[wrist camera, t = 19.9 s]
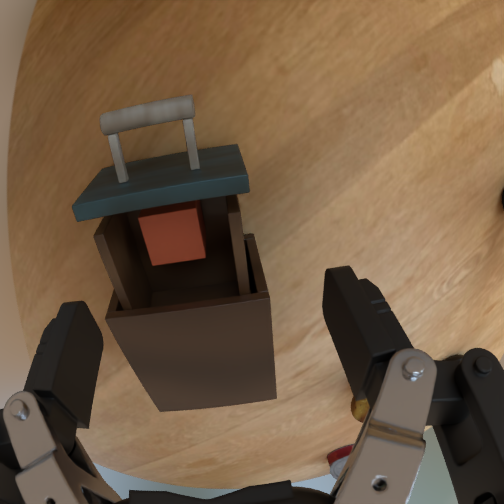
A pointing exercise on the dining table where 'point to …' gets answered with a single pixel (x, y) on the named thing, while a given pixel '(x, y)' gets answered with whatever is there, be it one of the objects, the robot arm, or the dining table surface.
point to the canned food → (338, 460)
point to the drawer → (165, 193)
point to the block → (174, 232)
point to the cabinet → (202, 346)
